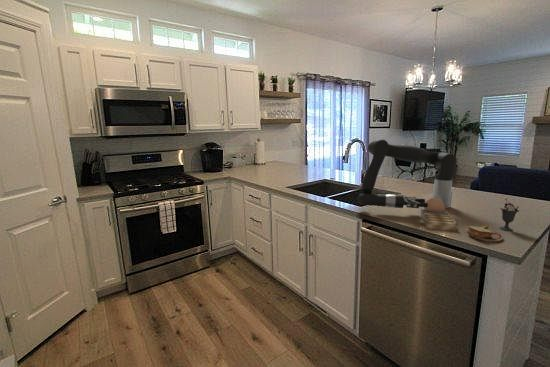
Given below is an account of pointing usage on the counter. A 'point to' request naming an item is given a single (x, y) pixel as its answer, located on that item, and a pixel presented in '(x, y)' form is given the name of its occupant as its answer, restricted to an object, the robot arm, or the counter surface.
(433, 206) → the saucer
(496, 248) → the counter surface
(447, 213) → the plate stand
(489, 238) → the toy sandwich meal
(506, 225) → the sundae
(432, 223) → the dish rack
